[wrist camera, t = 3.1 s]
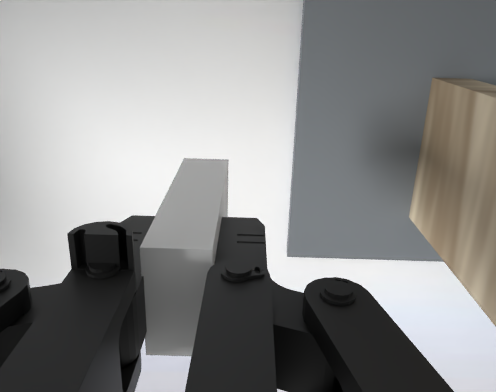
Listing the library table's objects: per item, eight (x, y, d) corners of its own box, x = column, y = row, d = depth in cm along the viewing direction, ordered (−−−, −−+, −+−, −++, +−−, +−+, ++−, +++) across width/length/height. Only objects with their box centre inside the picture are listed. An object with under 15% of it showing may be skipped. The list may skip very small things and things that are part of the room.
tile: (408, 217, 24) (510, 345, 14) (432, 77, 21) (574, 123, 12) (446, 218, 24) (573, 347, 14) (474, 79, 21) (649, 125, 12)
